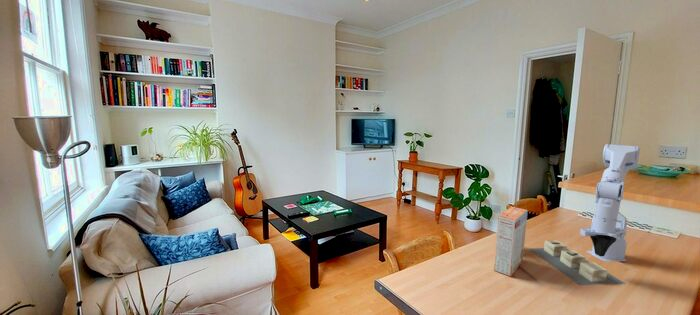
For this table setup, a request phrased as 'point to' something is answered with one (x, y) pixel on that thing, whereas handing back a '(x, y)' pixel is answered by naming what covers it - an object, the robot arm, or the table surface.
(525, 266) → the table surface
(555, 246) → the block one
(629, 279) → the table surface
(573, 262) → the block seven
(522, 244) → the cracker box
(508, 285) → the table surface
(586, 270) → the block plain
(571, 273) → the mat
